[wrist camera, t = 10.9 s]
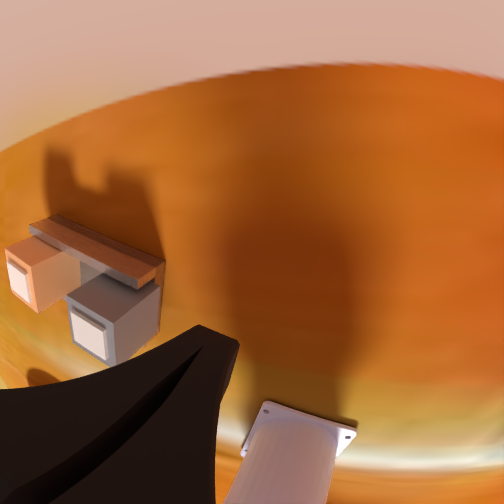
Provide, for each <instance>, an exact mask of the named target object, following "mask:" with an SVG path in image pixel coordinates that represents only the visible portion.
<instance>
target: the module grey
mask: <svg viewBox="0 0 504 504" xmlns="http://www.w3.org/2000/svg"><path fill="white" fill-rule="evenodd" d="M160 287H161V286H159V285H157V284H155V283H153V282H151V281H149V282H147V283H146V284H144V285H143V286H142V287H140V288H139V289H138V290H137V289H135V288H133V287H131V286H129V285H127V284H125V283H123V282H121V281H118V280H116V279H114V278H112V277H110V276H108V275H107V274H105V273H102V274H100V275H98V276H97V277H95V278H93V279H92V280H90V281H88V282H87V283H85V284H83V285H82V286H80V287H78V288H77V289H75V290H73V291H72V292H70V293H69V294H67V295H66V297H67V306H68V314H69V321H70V327H71V334H72V340H73V343H74V344H76V345H77V346H79V347H80V348H82V349H83V350H85V351H86V352H88V353H89V354H91V355H92V356H94V357H95V358H97V359H98V360H100V361H101V362H103V363H105V364H106V365H108V366H109V367H113V366H115V365H118V364H120V363H123V362H125V361H127V360H128V359H129V358H130V357H131V356H132V355H133V354H134V353H136V352H137V351H138V350H139V349H140V348H141V347H142V346H143V345H144V344H145V343H146V342H147V341H148V340H149V339H150V338H151V337H152V336H153V335H154V334H155V333H156V332H157V326H158V312H159V299H160Z"/></svg>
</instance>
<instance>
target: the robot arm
mask: <svg viewBox="0 0 504 504" xmlns="http://www.w3.org/2000/svg"><path fill="white" fill-rule="evenodd" d="M239 346H240V344H239V343H238V341H237V340H235V339H233V338H230V337H228V336H225V335H223V334H220V333H218V332H216V331H213V330H211V329H208V328H206V327H204V326H201V325H196V326H194V327H192V328H191V329H189V330H187V331H185V332H184V333H182V334H180V335H178V336H176V337H175V338H173V339H171V340H169V341H167V342H165V343H163V344H162V345H160V346H158V347H156V348H154V349H152V350H149V351H147V352H145V353H143V354H141V355H139V356H137V357H135V358H132V359H130V360H128V361H125V362H123V363H120V364H118V365H115V366H113V367H110V368H108V369H105V370H102V371H99V372H96V373H93V374H90V375H86V376H83V377H80V378H76V379H72V380H67V381H63V382H59V383H54V384H48V385H42V386H35V387H25V388H15V389H0V504H216V501H215V451H216V435H217V425H218V417H219V409H220V403H221V401H222V398H223V396H224V393H225V391H226V389H227V387H228V385H229V381H230V378H231V374H232V371H233V367H234V364H235V360H236V357H237V353H238V350H239ZM356 435H357V429H356V428H354V427H350V426H346V425H343V424H339V423H336V422H332V421H329V420H326V419H322V418H319V417H316V416H313V415H309V414H306V413H303V412H300V411H297V410H294V409H291V408H288V407H285V406H283V405H280V404H277V403H274V402H271V401H265V402H263V404H262V407H261V409H260V411H259V414H258V416H257V418H256V420H255V423H254V425H253V427H252V429H251V431H250V434H249V436H248V438H247V440H246V442H245V444H244V446H243V449H242V451H241V453H240V454H241V456H242V457H244V459H243V462H242V464H241V466H240V468H239V470H238V472H237V475H236V477H235V479H234V481H233V483H232V485H231V487H230V490H229V492H228V494H227V496H226V498H225V500H224V502H223V504H326V502H327V497H328V493H329V488H330V484H331V479H332V474H333V469H334V464H335V459H336V457H337V456H338V455H339V454H340V453H341V452H342V451H343V450H344V449H345V447H346V446H347V445H348V444H349V443H350V442H351V441H352V440H353V438H354V437H355V436H356Z"/></svg>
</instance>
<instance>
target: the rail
mask: <svg viewBox="0 0 504 504" xmlns="http://www.w3.org/2000/svg"><path fill="white" fill-rule="evenodd" d="M29 231H30V233H31V234H33V235H35V236H36V237H38V238H40V239H42V240H43V241H45V242H47V243H49V244H50V245H52V246H54V247H56V248H57V249H59V250H61V251H63V252H65V253H67V254H68V255H70V256H72V257H74V258H76V259H78V260H80V276H81V286H82V285H83V284H85V283H87V282H88V281H90V280H92V279H93V278H95V277H97V276H98V275H100V274H102V273H105V274H107V275H108V276H110V277H112V278H114V279H116V280H118V281H121V282H123V283H125V284H127V285H129V286H131V287H133V288H135V289H137V290H138V289H139V288H140V287H142V286H143V285H144V284H146V283H147V282H149V281H151V282H153V283H155V284H157V285H159V286H161V287H160V299H159V312H158V326H157V332H156V333H155V334H154V335H153V336H152V337H151V338H150V339H149V340H148V341H147V342H146V343H145V344H144V345H143V346H142V347H145V346H146V345H147V344H148V343H149V342H150V341H151V340H152V339H153V338H154V337H155V336H156V335H157V334H158V333H159V328H160V314H161V302H162V291H163V280H164V271H165V261H164V260H161V259H159V258H156V257H154V256H152V255H149V254H147V253H144V252H142V251H140V250H137V249H135V248H132V247H130V246H128V245H125V244H123V243H121V242H118V241H116V240H113V239H111V238H109V237H107V236H104V235H102V234H100V233H97V232H95V231H93V230H90V229H88V228H86V227H84V226H81V225H79V224H77V223H75V222H72V221H70V220H68V219H66V218H63V217H61V216H59V215H54V216H51V217H48V218H46V219H43V220H40V221H38V222H35V223H32V224H30V225H29ZM62 299H63V300H65V301H66V302H67V297H64V298H62Z"/></svg>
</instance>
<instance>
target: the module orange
mask: <svg viewBox="0 0 504 504" xmlns="http://www.w3.org/2000/svg"><path fill="white" fill-rule="evenodd" d="M5 253H6V260H7V267H8V273H9V279H10V284H11V289H12V293H14V294H15V295H16V296H17V297H18V298H19V299H21V300H22V301H23V302H24V303H26V304H27V305H28V306H29V307H30V308H32V309H33V310H34V311H36V312H37V313H38V314H39V313H40V312H42V311H43V310H45V309H47V308H48V307H50V306H51V305H53V304H54V303H56V302H58V301H59V300H61V299H62V298H64V297H66V295H67V294H69V293H70V292H72V291H73V290H75V289H77V288H78V287H80V286H81V276H80V260H78V259H76V258H74V257H72V256H70V255H68V254H67V253H65V252H63V251H61V250H59V249H57V248H56V247H54V246H52V245H50V244H49V243H47V242H45V241H43V240H42V239H40V238H38V237H36V236H32V237H30V238H27V239H25V240H23V241H20V242H18V243H16V244H13V245H11V246H9V247H7V248H5Z"/></svg>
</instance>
